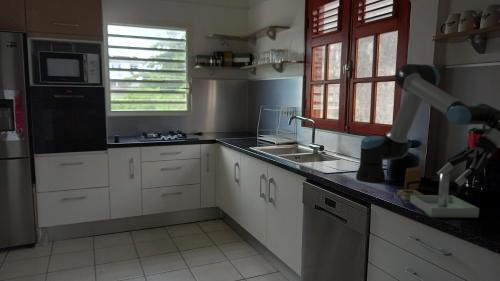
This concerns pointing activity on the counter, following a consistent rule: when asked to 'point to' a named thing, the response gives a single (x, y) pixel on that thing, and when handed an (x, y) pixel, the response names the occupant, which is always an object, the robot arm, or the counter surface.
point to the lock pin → (443, 190)
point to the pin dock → (407, 193)
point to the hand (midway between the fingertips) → (448, 179)
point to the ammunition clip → (413, 179)
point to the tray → (453, 209)
